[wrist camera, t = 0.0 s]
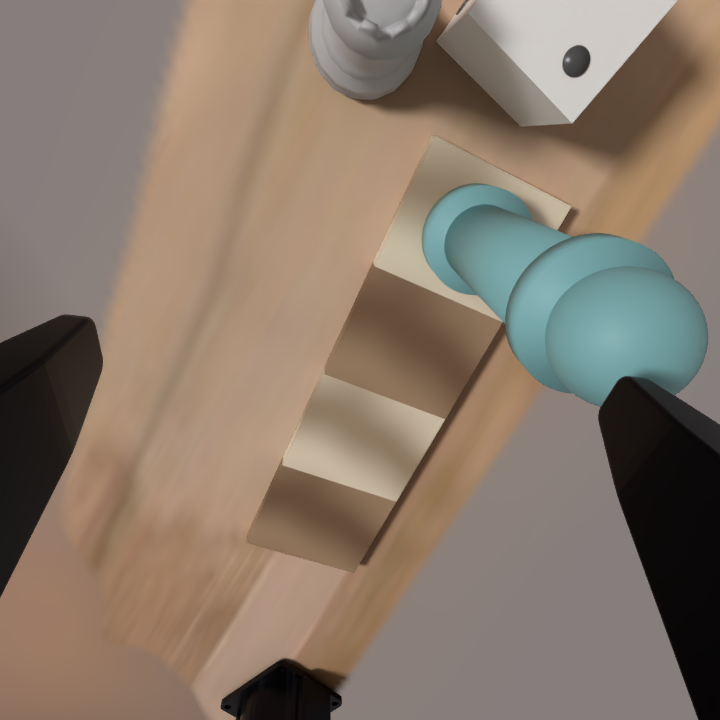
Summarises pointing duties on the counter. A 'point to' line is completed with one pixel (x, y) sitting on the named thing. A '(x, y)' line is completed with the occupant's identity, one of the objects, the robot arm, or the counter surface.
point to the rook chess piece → (369, 42)
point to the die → (547, 50)
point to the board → (386, 379)
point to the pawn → (567, 295)
